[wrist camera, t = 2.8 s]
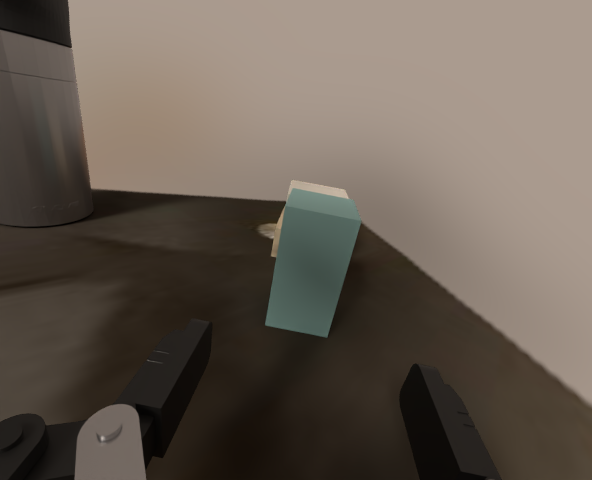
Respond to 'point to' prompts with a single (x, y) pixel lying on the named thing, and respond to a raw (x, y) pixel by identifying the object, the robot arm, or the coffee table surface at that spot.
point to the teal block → (311, 261)
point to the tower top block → (317, 189)
